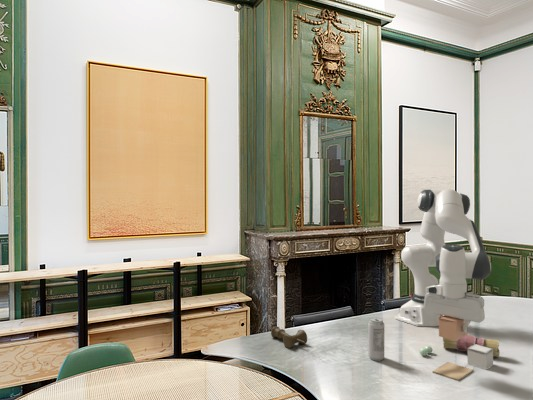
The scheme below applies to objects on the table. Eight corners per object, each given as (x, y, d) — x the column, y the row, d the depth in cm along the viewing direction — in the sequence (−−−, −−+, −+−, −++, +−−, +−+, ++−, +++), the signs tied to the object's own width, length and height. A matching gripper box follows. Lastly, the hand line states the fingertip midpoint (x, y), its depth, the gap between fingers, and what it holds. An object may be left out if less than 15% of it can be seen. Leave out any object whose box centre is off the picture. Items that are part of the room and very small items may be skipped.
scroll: (500, 350, 157) (445, 340, 168) (499, 335, 155) (444, 326, 166) (499, 364, 151) (442, 353, 162) (498, 349, 149) (441, 338, 160)
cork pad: (432, 372, 140) (432, 371, 140) (447, 363, 148) (447, 361, 148) (458, 381, 133) (458, 379, 133) (473, 371, 141) (473, 369, 141)
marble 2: (423, 353, 158) (422, 345, 158) (426, 351, 160) (426, 343, 160) (430, 355, 156) (430, 347, 156) (433, 353, 158) (433, 345, 158)
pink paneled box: (438, 336, 140) (438, 317, 140) (450, 330, 146) (450, 313, 146) (456, 340, 135) (456, 321, 135) (467, 334, 141) (466, 316, 141)
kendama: (282, 335, 180) (314, 347, 165) (266, 341, 174) (297, 353, 159) (282, 322, 180) (313, 332, 165) (265, 327, 174) (296, 338, 159)
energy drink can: (380, 354, 156) (380, 316, 156) (387, 360, 150) (387, 321, 151) (365, 355, 155) (365, 317, 155) (372, 361, 149) (372, 322, 149)
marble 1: (418, 355, 155) (418, 348, 155) (422, 353, 157) (421, 346, 157) (425, 357, 153) (425, 350, 153) (429, 355, 155) (429, 348, 155)
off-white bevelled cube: (467, 364, 147) (467, 348, 147) (474, 359, 151) (474, 343, 151) (486, 369, 142) (486, 353, 142) (493, 364, 147) (493, 348, 147)
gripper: (487, 294, 135) (487, 334, 135) (429, 284, 150) (430, 321, 150) (480, 297, 131) (480, 338, 131) (421, 287, 146) (421, 324, 146)
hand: (453, 329), depth 141 cm, fingers closed on pink paneled box, 6 cm apart
